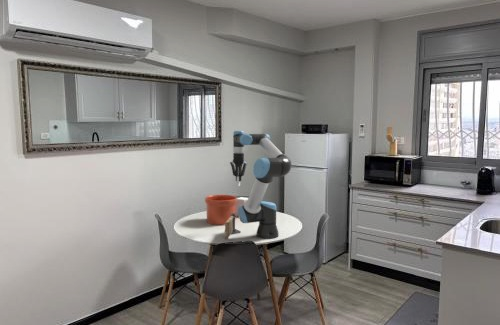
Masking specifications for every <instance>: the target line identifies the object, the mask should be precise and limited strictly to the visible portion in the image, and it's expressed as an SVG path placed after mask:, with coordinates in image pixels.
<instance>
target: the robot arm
mask: <svg viewBox="0 0 500 325" xmlns="http://www.w3.org/2000/svg"><path fill="white" fill-rule="evenodd" d="M232 137H233V139H232V141H233V143H232V145H233V146H232V147H233V148H232V150H233V151H232V152H233V159H232V161H230V162H229V164H230V166H231V167H230V168H231V171H232V175H233V176H234V177H235V181H236V186H237V187H240V186H241V182H242V177H243V176H245V173H246V168H247V167H246V166H247V165H248V162H246V161H245V153H244V152H245V146H256V145H257V146H259V147H260V148H261V149H262V150H263V151H264V152H265V153H266V155H267V156H268V157H262V158H261V157H260V158H258V159H256V160H255V162H254V164H253V169H252V171H253V176H254V177H255V180H254V183H253V185H252V188H251V191H250V193H249V196H248V197H247V198H248V200H247V201H245V202H244V205H243V206H239V208H238V215H239V217H238V218H239V221H240V222H241V223H242V224H252V223H258V227H257V229H256V237H257V238H260V239H269V240H270V239H276V238H278V237H279V229H278V227H277V211H278V210H277V204H276V203H274V202H271V201H263V198H264V196H265V194H266V191H267V189H268V186H269V184H271V183H272V182H273V181H274V179H275V178H280V177H285V176H287V175H288V174H289V173H290V171H291V169H292V161H291V159H290V158H289V156H288V155H287V154H285V153H282V152H281V150H280V149H279V148H277V147H276V145H275V144H274V143H273V142H272V141H271V136H270V135H269V134H268V133H245V131H243V130H234V131H233V134H232Z"/></svg>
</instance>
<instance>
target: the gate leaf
mask: <svg viewBox="0 0 500 325" xmlns="http://www.w3.org/2000/svg"><path fill="white" fill-rule="evenodd" d="M224 227H225V228H224V239H225V240H228V239H229V237H231V235H232V234H231V233H232V232H233V216H231V217H230V218H229V219H228V220H227V222H226V223H225V225H224Z"/></svg>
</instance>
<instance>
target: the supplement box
mask: <svg viewBox="0 0 500 325" xmlns="http://www.w3.org/2000/svg"><path fill="white" fill-rule="evenodd" d="M248 198H249V197H245V196H243V197H242V196H240V197H237V202H236V207H235V217H238V218H239V215H238V208H239V206H243V205H244V202H245V201H247V200H248Z"/></svg>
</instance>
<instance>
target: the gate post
mask: <svg viewBox="0 0 500 325" xmlns="http://www.w3.org/2000/svg"><path fill="white" fill-rule="evenodd" d="M231 216H233V232H232V233H231V235H236V234H240V233H241V230H239V229H237V228H236V216H235V213H230V217H231Z"/></svg>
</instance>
